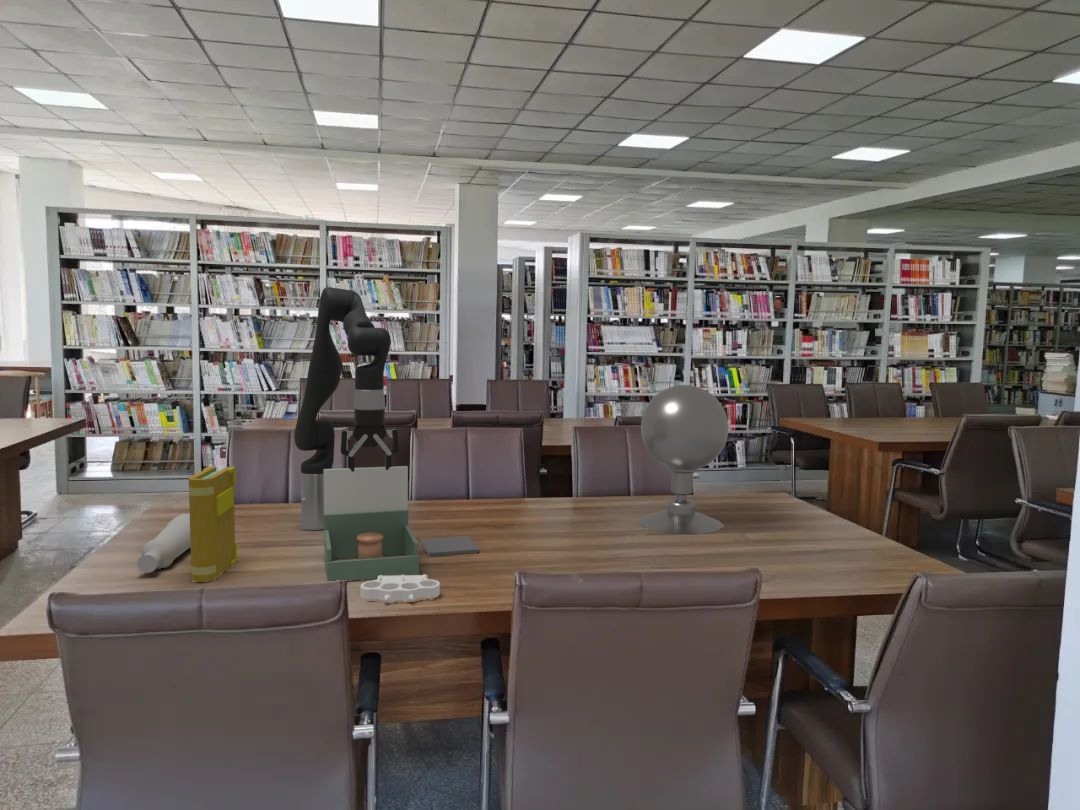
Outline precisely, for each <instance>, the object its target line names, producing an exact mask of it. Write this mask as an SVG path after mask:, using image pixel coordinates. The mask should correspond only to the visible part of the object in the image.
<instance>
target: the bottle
mask: <svg viewBox="0 0 1080 810" xmlns="http://www.w3.org/2000/svg"><path fill="white" fill-rule="evenodd" d="M189 549H191V545H190V513H182V514H178V515H176V516H175V517H174V518H173V519H171V520H170V521H169V522H168V523H167V524H166V526H165V528H163V530H161V531H160V533H158V534H157V535H156V536H155V537H154V538H153V539H151V540H149V541H147V542H146V544H144V545H143V547H142V549H141V556H140V557H139V558H138V560H137V565H136V566H137V567H138V570H140V572H142V573H146V574H147V573H152V572H154V571H155V570H162V569H161V568H164V569H166V568H168V567H170V566H171V565H172V564H173V562H174V560H176V559H177V558H178V557H179V556H180V555H182V554H183V553H184V552H186V551H187V550H189Z"/></svg>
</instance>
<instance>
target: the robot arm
mask: <svg viewBox="0 0 1080 810" xmlns="http://www.w3.org/2000/svg"><path fill="white" fill-rule="evenodd" d="M365 309H366V308H365V306H364V302H363V300H362V298H361V295H360V294H359V293H358V292H356V291H355V290H351V289H345V288H338V287H331V286H326V287H324V288H323V289H322V291H321V294H320V297H319V302H318V312H317V320H316V329H315V336H314V342H313V346H312V347H313V348H312V352H311V356H310V361H309V366H308V371H307V375H306V376H307V377H306V383H305V389H304V395H303V399H302V403H301V408H300V411H299V413H298V417H297V421H296V424H295V427H294V428H295V429H294V444H295V446H296V448H297V450H300V451H315V452H314V454H313V455H312V456H311V457H310V458H308V459H306V460H304V461H303V462H302V463H301V464H300V484H301V485H300V495H301V496H300V499H301V500H300V502H301V506H300V507H301V508H300V510H301V511H300V513H301V515H300V516H301V530H307V531H318V530H319V531H320V530H321V529H322V530H324V469H333V464H334V461H335V459H334V458H335V438H336V436H335V427H334V425H333V423H332V421H331V420H329V419H327V418H319V419H317V416H318V414H319V412H320V410H321V408H322V407H323V406H324V405H325V403H327V402H328V400H329V399H330V398H331V396H333V394H334V393H335V391H336V390H337V388H338V387H339V384H340V381H341V376H342V371H343V370H342V369H343V361H342V358H341V355H340V353H339V350H338V349H337V347H336V345H335V342H334V340H333V337H332V334H331V329H330V328H331V327H330V325H331V321H333V322H334V321H335V322H342V327H343V330H344V332H345V334H346V336H347V348H348V350H349V352H350V353H351V354H352V355H355V356H358V357H359V356H361V357H362V356H363V357H369V356H371V357H373V356H374V357H373V359H372V361H371V362H370V363H367V364H363V365H359V366H357V367H356V368H355V372H354V391H355V392H354V395H353V396H354V397H353V398H354V399H353V405H354V406H353V407H354V408H353V409H354V411H353V412H354V419H353V420H354V422H353V423H354V426H353V427H354V428H353V429H352V430H346V429H342V431H341V436H340V437H341V438H340V453H341V455H345V456H347V457H348V459H347V460H348V461H347V462H348V466H347V467H348V468H349V469H351V471H352V472H354V468H355V454H356V452H358V450H359V449H360V448H361V447H363V448H369V447H371V448H377V447H378V446H380V448H381V449H382V450H383V451H384V452H385V454H384V467H385V469H386V470H389V468H391V467H392V456H393V455H394V454H397V453H399V451H400V450H399V434H398V430H397V429H396V428H392V429H387V428H386V423H385V422H386V419H385V417H386V416H385V415H386V414H385V413H386V402H385V401H386V399H385V390H384V389H385V388H384V387H385V386H384V383H385V382H384V380H385V379H384V376H385V375H384V374H385V367H386V363H387V360H388V359H387V358H388V356H389V352H390V348H391V343H392V339H391V338H392V337H391V335H390V333H389V331H388V330H387V329H386V328H383V327H375V325H374V323H373V322H372V321H371V320H370V318H369V317H368V316H367V313H366V310H365ZM387 435H388V437H389V438H391V440H392V441H391V444H392V447H391V448H389V447H388V445H386V443H385V442H384V439H385V437H386V436H387ZM351 436H353V438H354V439H355V442H354V443H353V445H352V446H351V448H350V449H347V443H348V440H350V439H351ZM322 530H321V531H322Z"/></svg>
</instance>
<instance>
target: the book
mask: <svg viewBox="0 0 1080 810" xmlns="http://www.w3.org/2000/svg"><path fill="white" fill-rule="evenodd" d="M236 478H237V477H236V466H227V467H225V468H223V469H221V470H217V467H216V466H207V467H205V468H203V469H202V470H201V471H199V472H197V473H196V474H194V475H192V476H190V477H188V500H189V501H188V502H189V506H188V508H189V514H190V545H191V548H190V572H191V573H190V576H191V579H192V580H193V581H196V582H208V583H210V582H209V581H212V582H214V581H213V580H214V579H217V578H218V576H220V574H221V573H222V572H223V571H225V570H226V569H227V568H228V567H229V566H230V565H233V564H234V563H235V562H236V561H237V562H238V543H236V531H235V526H236V525H235V523H236V522H235V518H236V517H235V486H236V485H237V484H236V483H237V482H236ZM237 562H236V563H237ZM236 563H235V564H236ZM235 564H234V565H235ZM234 565H233V566H234ZM230 567H231V566H230ZM230 567H229V568H230ZM229 568H228V569H229ZM228 569H227V570H228ZM227 570H226V571H227ZM226 571H225V572H226ZM220 577H221V576H220ZM191 579H190V580H191ZM218 579H219V578H218ZM218 579H217V580H218ZM192 580H191V581H192Z"/></svg>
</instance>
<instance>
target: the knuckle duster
mask: <svg viewBox="0 0 1080 810" xmlns="http://www.w3.org/2000/svg"><path fill="white" fill-rule="evenodd" d="M438 595H440V596H441V583H440V581H438V580H436V579H431V578H428V574H426V573H424V574H422V575H421V574H419V575H396V576H382V575H379V576H378V578H377V579H372V580H366V581H365V582H362V583H361V584H360V596H361V597H362V598H364V599H368V600H369V599H379V600H383V601H396V600H403V601H412V600H416V599H420V598H432V597H437V596H438ZM360 596H359V597H360Z"/></svg>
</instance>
